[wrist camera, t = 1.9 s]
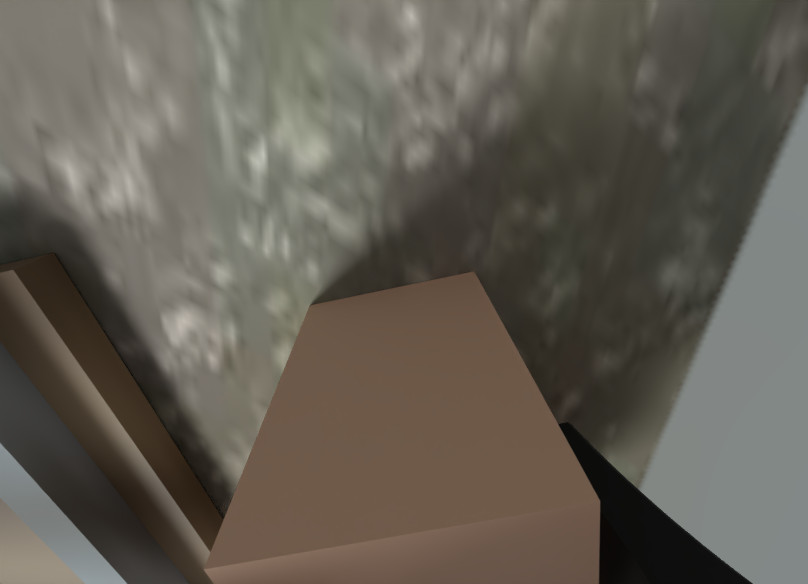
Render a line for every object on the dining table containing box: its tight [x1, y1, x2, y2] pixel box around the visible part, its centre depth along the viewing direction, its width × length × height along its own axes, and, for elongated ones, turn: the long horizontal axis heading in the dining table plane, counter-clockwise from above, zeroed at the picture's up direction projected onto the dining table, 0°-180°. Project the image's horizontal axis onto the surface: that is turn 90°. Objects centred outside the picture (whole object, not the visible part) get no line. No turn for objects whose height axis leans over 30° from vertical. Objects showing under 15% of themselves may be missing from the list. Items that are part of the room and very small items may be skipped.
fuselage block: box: [204, 271, 600, 584], centre depth 8 cm, size 9×4×6 cm, turn 12°
